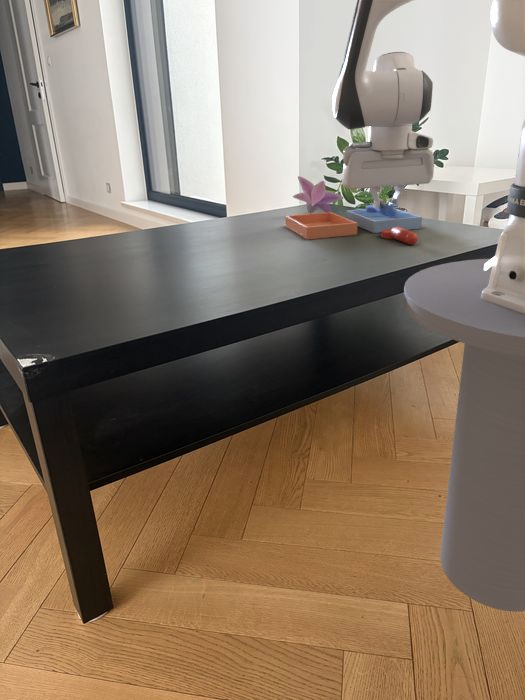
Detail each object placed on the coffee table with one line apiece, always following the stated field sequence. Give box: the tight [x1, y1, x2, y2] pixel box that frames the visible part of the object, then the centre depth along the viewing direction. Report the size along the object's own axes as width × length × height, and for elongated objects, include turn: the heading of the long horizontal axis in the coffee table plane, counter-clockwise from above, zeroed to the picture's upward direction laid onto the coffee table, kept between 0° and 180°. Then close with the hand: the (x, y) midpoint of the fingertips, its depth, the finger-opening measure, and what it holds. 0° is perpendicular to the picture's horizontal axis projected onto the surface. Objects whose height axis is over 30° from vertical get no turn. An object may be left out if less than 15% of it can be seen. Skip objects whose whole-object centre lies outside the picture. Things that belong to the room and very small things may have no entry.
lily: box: [292, 175, 344, 214], centre depth 135 cm, size 12×12×10 cm
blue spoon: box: [365, 202, 397, 217], centre depth 123 cm, size 11×4×2 cm, turn 15°
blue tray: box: [345, 208, 423, 234], centre depth 124 cm, size 15×11×2 cm
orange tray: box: [284, 211, 358, 241], centre depth 121 cm, size 15×11×2 cm
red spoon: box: [380, 227, 419, 246], centre depth 109 cm, size 11×4×2 cm, turn 15°
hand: (386, 207), depth 121 cm, fingers closed on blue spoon, 2 cm apart
